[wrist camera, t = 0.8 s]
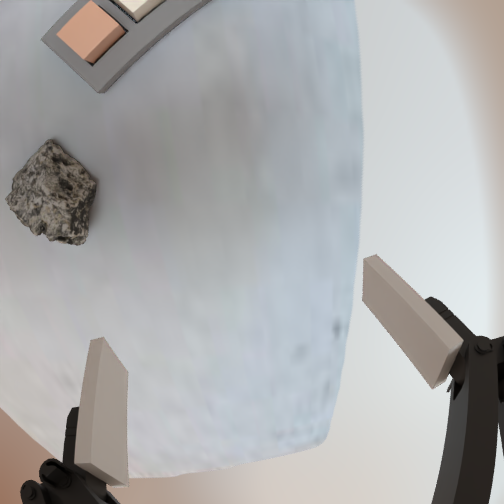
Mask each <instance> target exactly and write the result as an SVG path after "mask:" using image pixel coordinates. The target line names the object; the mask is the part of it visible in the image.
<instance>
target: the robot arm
mask: <svg viewBox="0 0 504 504" xmlns="http://www.w3.org/2000/svg"><path fill="white" fill-rule="evenodd" d="M363 260H364V261H363V263H364V265H363V297H362V301H363V302H364V303H365V304H366V306H367V307H368V308H369V309H370V311H371V312H372V313H373V314H374V315H375V317H376V318H377V319H378V320H379V322H380V323H381V324H382V325H383V327H384V328H385V329H386V330H387V332H388V333H389V334H390V335H391V336H392V338H393V339H394V340H395V341H396V343H397V344H398V345H399V347H400V348H401V349H402V350H403V352H404V353H405V354H406V356H407V357H408V358H409V359H410V361H411V362H412V363H413V365H414V366H415V367H416V369H417V370H418V371H419V372H420V374H421V375H422V376H423V378H424V379H425V380H426V382H427V383H428V384H429V386H430V387H431V388H432V389H434V388H436V387H437V386H439V385H441V384H442V383H443V382H445V381H446V379H447V377H448V375H449V374H450V375H451V376H452V378H453V379H452V381H451V383H450V385H449V387H448V389H447V392H449V391H450V389H451V396H450V407H449V416H448V424H447V432H446V438H445V444H444V450H443V456H442V461H441V467H440V471H439V475H438V480H437V484H436V488H435V492H434V496H433V500H432V504H488V503H489V499H490V494H491V488H492V482H493V474H494V467H495V458H496V448H497V447H496V446H497V433H498V424H499V429H500V435H501V441H502V448H503V455H504V336H503V337H499V338H496V339H492V340H490V339H489V338H487V337H484V336H476V335H474V334H473V333H472V332H471V331H470V330H469V329H468V328H467V327H466V326H465V325H464V324H463V323H462V322H461V321H460V320H459V319H458V318H457V317H456V316H455V315H454V314H453V313H452V312H451V311H450V310H448V308H447V307H446V306H445V305H444V304H443V303H442V302H441V301H439V300H437V299H435V298H433V297H429V298H427V299H425V300H424V299H423V298H422V297H421V296H420V295H419V294H418V293H417V292H416V291H415V290H414V289H413V288H411V286H410V285H408V284H407V283H406V282H405V281H404V280H403V279H402V278H401V277H400V276H399V275H398V274H397V273H396V272H395V271H394V270H393V269H391V267H389V266H388V265H387V264H386V263H385V262H384V261H383V260H382V259H381V258H380V257H379V256H377V255H373V256H370V257H367V258H364V259H363ZM127 391H128V371H127V370H126V368H125V367H124V366H123V364H122V363H121V361H120V360H119V359H118V357H117V356H116V354H115V353H114V352H113V350H112V349H111V347H110V346H109V344H108V343H107V341H106V340H105V338H104V337H102V338H98V339H94V340H91V341H90V346H89V351H88V356H87V362H86V367H85V373H84V379H83V385H82V392H81V399H80V406H79V407H74V408H72V409H71V411H70V413H69V415H68V417H67V424H66V428H67V429H66V432H65V436H66V438H65V441H64V451H63V463H62V462H60V461H59V460H57V459H54V458H53V459H48V460H46V461H44V463H43V464H42V465H41V467H40V470H39V477H40V480H41V482H43V483H41V484H39V483H37V482H36V481H33V480H28V481H26V482H25V483H24V484H23V485H22V487H21V491H20V493H21V499H22V502H23V504H120V503H119V502H118V501H117V500H116V499H115V497H113V495H112V494H111V493H110V492H109V491H107V490H106V484H108V485H110V486H112V487H114V488H115V487H116V488H117V487H129V478H128V456H127Z"/></svg>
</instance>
